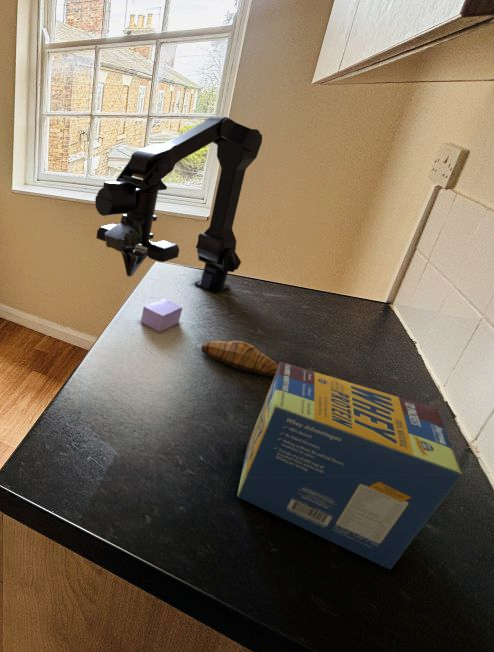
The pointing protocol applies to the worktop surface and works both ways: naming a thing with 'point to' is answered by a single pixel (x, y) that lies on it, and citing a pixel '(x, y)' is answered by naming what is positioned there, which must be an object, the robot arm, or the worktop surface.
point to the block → (161, 315)
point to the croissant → (240, 356)
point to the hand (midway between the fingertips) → (129, 275)
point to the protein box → (348, 462)
